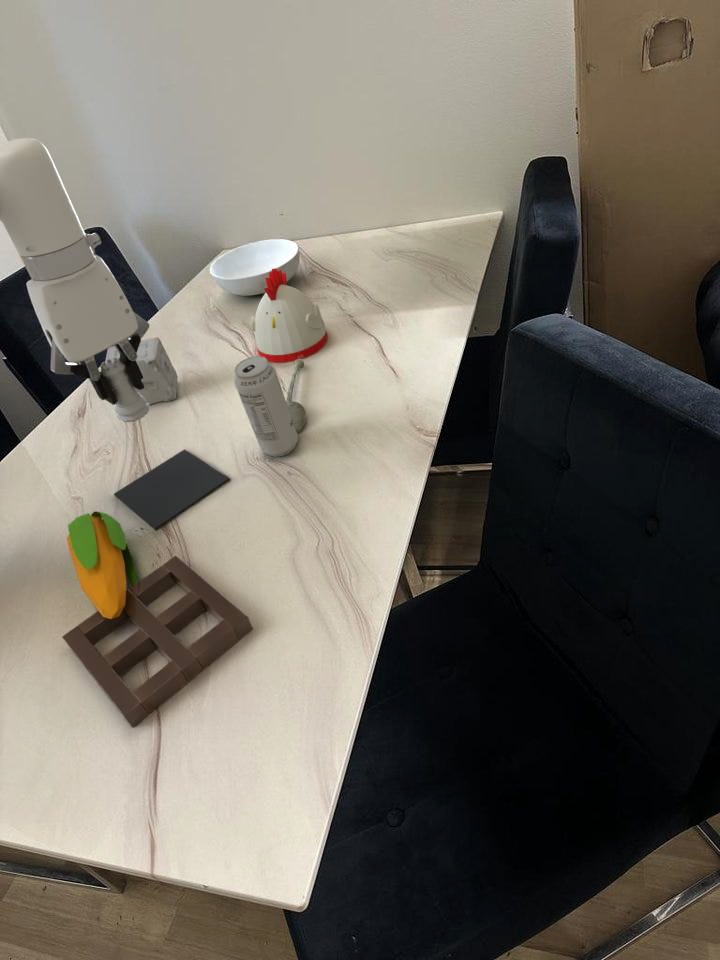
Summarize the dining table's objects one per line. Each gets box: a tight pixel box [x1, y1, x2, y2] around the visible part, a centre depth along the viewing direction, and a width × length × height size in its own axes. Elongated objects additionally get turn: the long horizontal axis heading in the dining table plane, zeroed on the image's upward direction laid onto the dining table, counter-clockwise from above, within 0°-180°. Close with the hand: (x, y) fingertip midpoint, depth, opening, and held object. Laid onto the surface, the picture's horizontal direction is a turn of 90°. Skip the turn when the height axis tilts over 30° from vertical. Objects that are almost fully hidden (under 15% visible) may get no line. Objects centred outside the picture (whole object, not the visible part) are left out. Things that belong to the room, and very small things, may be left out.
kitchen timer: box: [250, 268, 329, 364], centre depth 124 cm, size 14×14×15 cm
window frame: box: [62, 555, 254, 728], centre depth 77 cm, size 16×16×2 cm
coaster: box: [113, 449, 231, 531], centre depth 100 cm, size 13×13×1 cm
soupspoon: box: [285, 359, 307, 434], centre depth 112 cm, size 22×3×7 cm
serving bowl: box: [209, 238, 301, 297], centre depth 153 cm, size 21×21×7 cm
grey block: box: [104, 336, 179, 406], centre depth 119 cm, size 10×8×10 cm
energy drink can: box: [233, 355, 299, 458], centre depth 98 cm, size 6×6×15 cm
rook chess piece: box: [99, 358, 151, 423], centre depth 87 cm, size 4×4×8 cm
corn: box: [66, 511, 139, 619], centre depth 84 cm, size 7×8×20 cm
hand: (123, 392), depth 88 cm, fingers closed on rook chess piece, 3 cm apart
